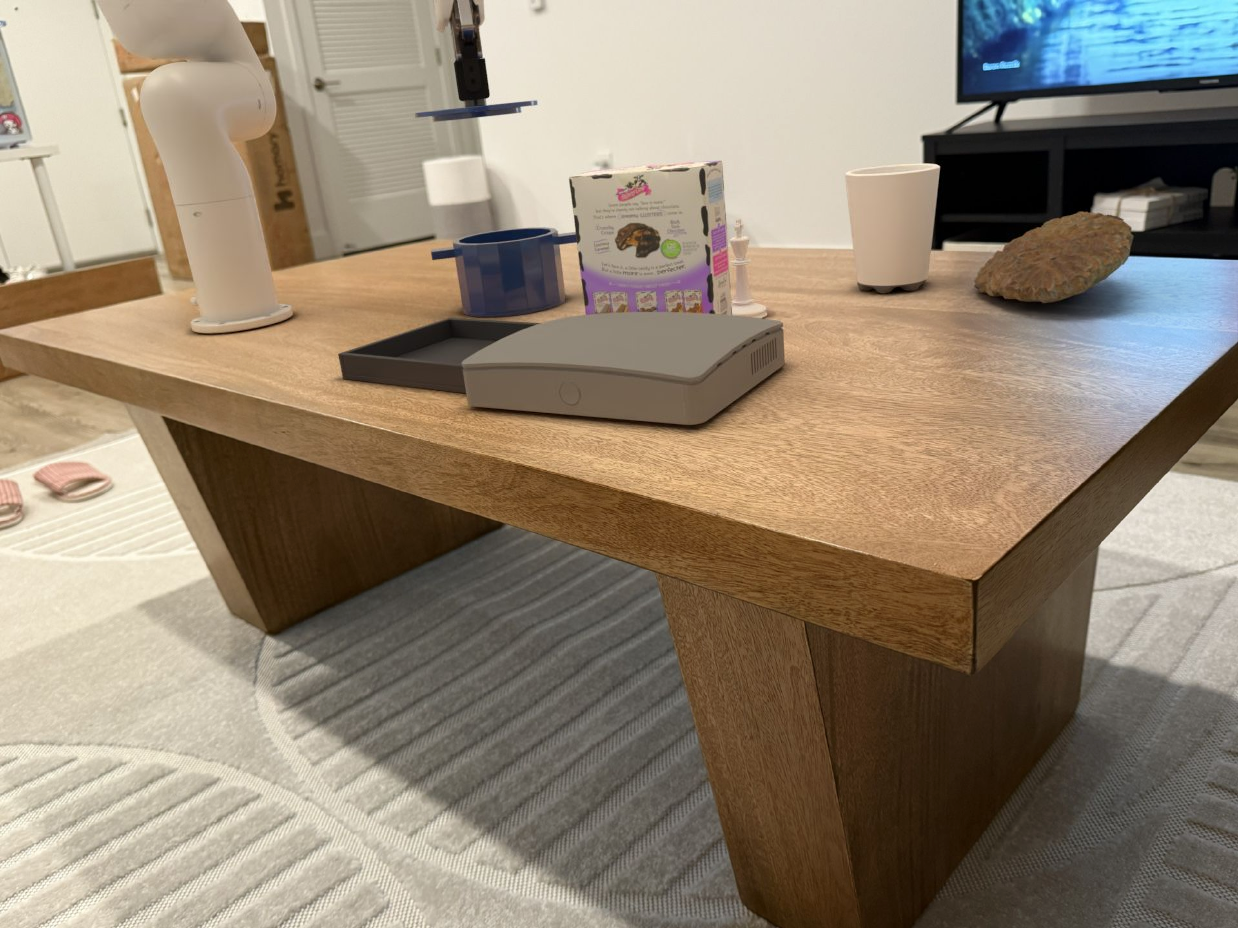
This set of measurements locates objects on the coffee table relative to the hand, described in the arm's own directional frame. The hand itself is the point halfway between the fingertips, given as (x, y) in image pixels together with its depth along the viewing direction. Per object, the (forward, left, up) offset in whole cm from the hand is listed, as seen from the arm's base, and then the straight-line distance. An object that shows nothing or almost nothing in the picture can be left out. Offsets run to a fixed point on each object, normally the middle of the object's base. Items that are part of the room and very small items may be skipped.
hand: (474, 98), depth 108 cm
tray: (+11, -19, -24) cm, 32 cm away
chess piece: (+29, +5, -24) cm, 38 cm away
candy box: (+25, -5, -24) cm, 35 cm away
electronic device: (+32, -20, -24) cm, 45 cm away
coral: (+56, +18, -24) cm, 64 cm away
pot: (-3, +5, -24) cm, 25 cm away
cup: (+39, +21, -24) cm, 51 cm away
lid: (0, 0, -1) cm, 1 cm away
